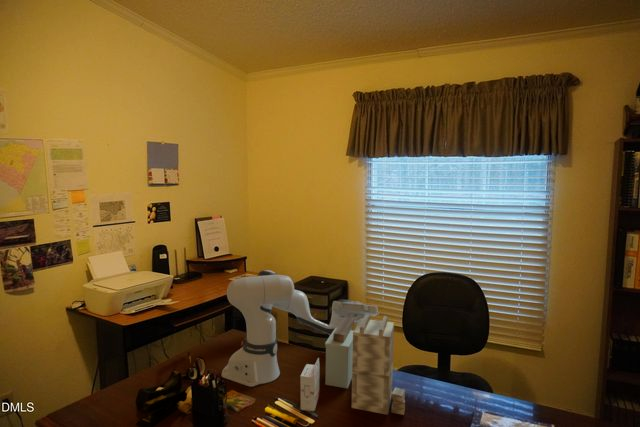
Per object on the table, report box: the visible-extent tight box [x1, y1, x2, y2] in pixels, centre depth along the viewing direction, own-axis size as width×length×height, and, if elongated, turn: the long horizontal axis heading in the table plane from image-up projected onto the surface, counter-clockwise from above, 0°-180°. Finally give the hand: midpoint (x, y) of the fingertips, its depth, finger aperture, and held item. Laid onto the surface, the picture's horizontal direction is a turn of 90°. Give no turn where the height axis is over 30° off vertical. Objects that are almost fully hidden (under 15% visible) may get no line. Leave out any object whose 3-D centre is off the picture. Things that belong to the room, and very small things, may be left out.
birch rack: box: [351, 314, 395, 416], centre depth 125 cm, size 12×13×28 cm
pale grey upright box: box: [324, 328, 355, 389], centre depth 140 cm, size 9×15×16 cm, turn 163°
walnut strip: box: [333, 317, 355, 343], centre depth 143 cm, size 4×18×3 cm, turn 163°
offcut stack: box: [391, 387, 406, 416], centre depth 120 cm, size 4×5×6 cm
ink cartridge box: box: [299, 357, 321, 412], centre depth 123 cm, size 9×5×15 cm, turn 168°
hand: (352, 305), depth 156 cm, fingers open, 8 cm apart
